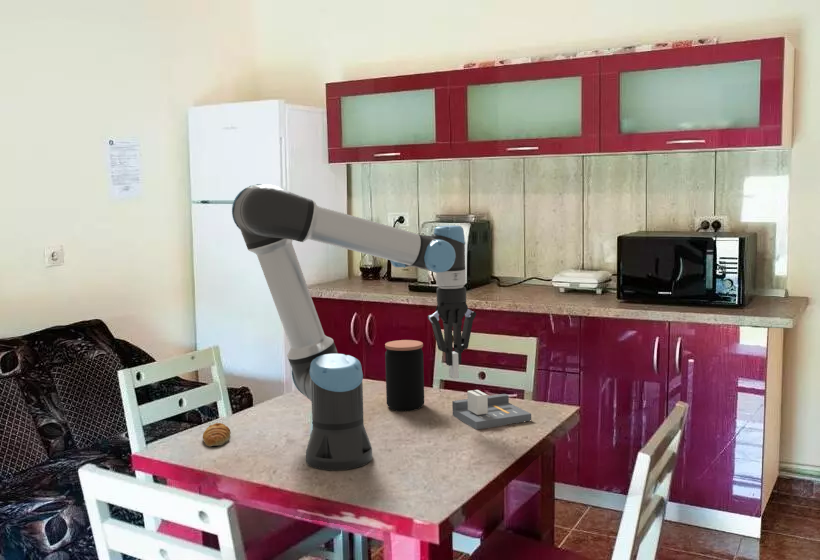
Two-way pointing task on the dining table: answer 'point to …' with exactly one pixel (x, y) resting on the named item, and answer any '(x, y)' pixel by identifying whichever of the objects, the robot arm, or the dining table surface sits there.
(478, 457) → the dining table surface
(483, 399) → the fader
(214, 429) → the pastry
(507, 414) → the grey slider base
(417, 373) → the coffee jar
